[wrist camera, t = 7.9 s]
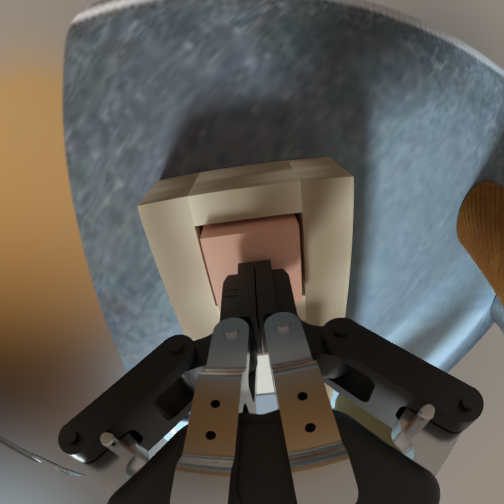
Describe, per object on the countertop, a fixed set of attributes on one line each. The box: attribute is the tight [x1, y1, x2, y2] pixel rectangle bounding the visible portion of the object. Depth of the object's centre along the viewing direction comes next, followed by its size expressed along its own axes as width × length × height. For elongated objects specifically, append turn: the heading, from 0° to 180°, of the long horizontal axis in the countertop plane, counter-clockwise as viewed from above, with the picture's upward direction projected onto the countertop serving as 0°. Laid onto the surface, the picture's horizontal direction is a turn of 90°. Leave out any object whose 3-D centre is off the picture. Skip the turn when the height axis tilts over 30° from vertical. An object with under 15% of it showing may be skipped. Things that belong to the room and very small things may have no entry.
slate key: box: [256, 392, 278, 414], centre depth 22 cm, size 4×4×3 cm
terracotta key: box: [200, 213, 302, 311], centre depth 15 cm, size 4×4×3 cm
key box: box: [137, 157, 354, 403], centre depth 19 cm, size 10×22×4 cm, turn 7°
